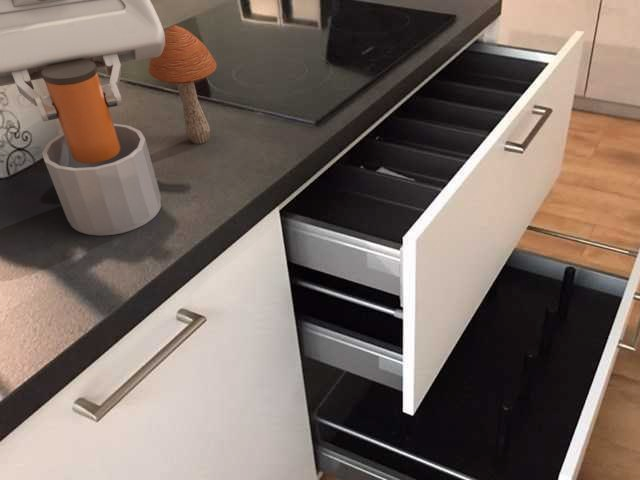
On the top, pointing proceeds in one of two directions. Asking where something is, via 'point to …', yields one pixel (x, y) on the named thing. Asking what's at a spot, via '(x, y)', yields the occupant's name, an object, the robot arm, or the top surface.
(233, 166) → the top surface
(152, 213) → the faceted grey planter pot
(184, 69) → the mushroom
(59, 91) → the tube
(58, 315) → the top surface
